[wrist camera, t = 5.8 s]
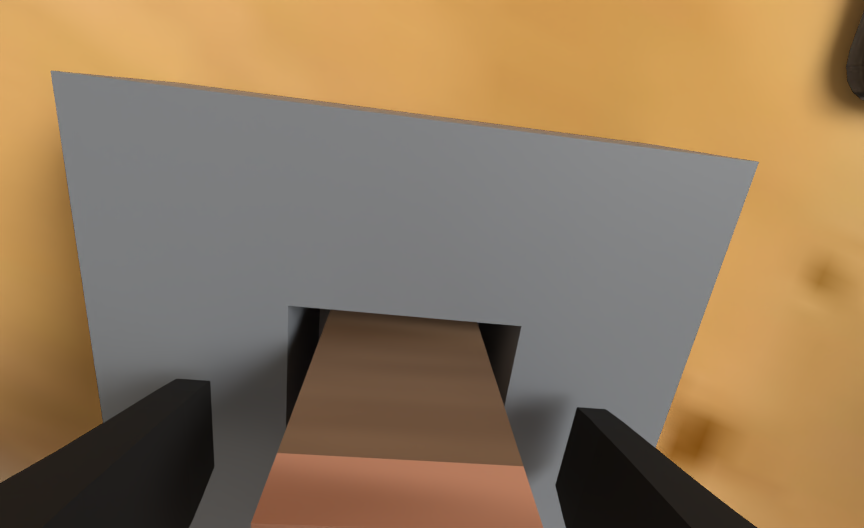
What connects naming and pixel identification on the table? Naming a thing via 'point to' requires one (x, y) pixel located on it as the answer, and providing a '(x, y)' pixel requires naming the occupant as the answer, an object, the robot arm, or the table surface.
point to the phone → (857, 62)
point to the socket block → (381, 257)
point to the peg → (398, 433)
